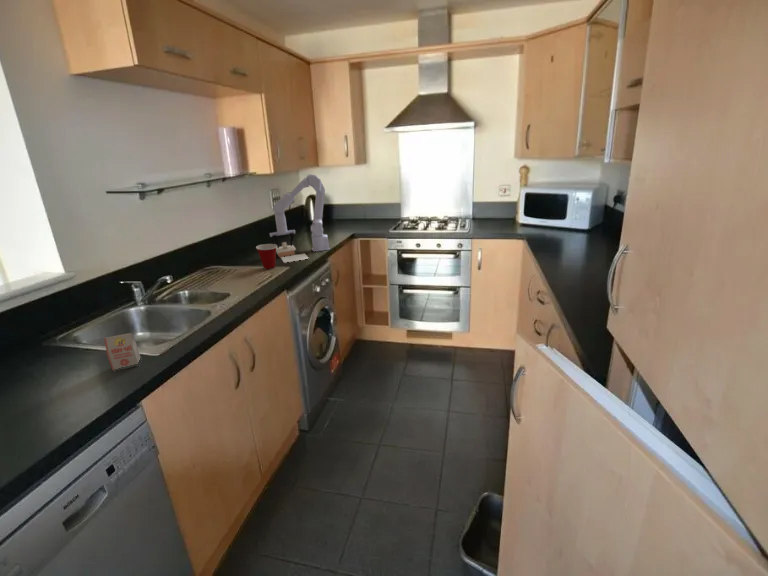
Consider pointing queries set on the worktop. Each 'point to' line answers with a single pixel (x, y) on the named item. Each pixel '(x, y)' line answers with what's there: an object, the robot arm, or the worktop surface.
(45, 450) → the worktop surface
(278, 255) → the block
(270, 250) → the plastic cup
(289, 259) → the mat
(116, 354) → the beige cardboard box
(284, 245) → the lid
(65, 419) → the worktop surface
